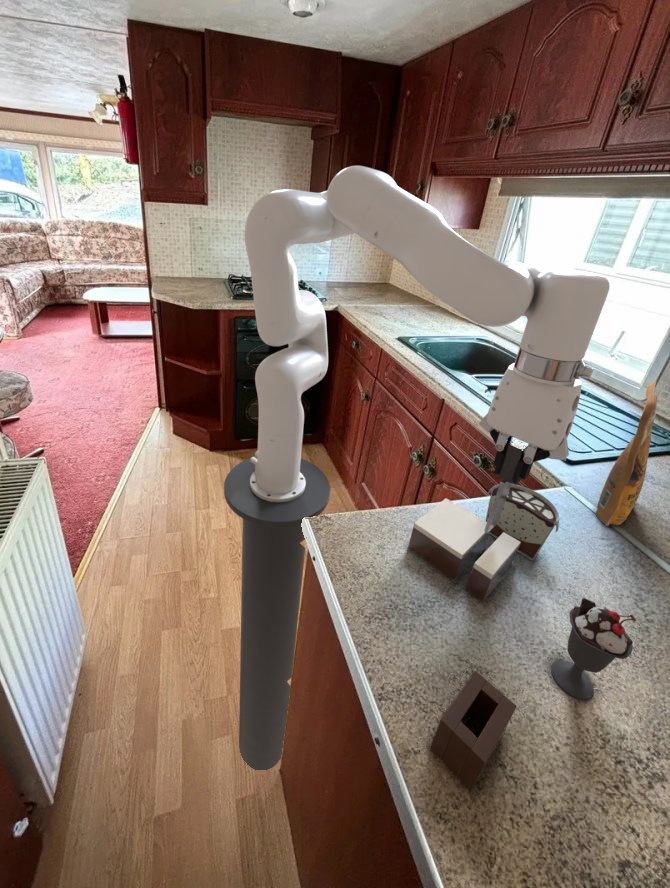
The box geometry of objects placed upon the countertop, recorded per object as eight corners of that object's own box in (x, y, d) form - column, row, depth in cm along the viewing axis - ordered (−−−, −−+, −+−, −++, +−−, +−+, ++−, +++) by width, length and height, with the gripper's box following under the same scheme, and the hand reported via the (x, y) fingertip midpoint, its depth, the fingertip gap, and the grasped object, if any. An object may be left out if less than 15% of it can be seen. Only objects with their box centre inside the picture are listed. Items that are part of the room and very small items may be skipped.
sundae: (605, 718, 51) (657, 640, 44) (544, 688, 53) (585, 611, 47) (598, 671, 56) (644, 596, 50) (543, 645, 59) (580, 571, 53)
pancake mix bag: (579, 517, 85) (634, 398, 74) (603, 483, 97) (653, 376, 86) (618, 536, 81) (682, 412, 69) (637, 497, 93) (695, 387, 81)
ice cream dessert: (554, 550, 76) (573, 508, 72) (541, 566, 72) (560, 523, 68) (491, 513, 84) (504, 474, 80) (476, 525, 81) (490, 485, 77)
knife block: (429, 748, 47) (440, 718, 44) (463, 699, 52) (474, 670, 49) (470, 792, 43) (485, 763, 41) (502, 735, 48) (517, 705, 46)
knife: (479, 529, 66) (506, 446, 60) (490, 518, 69) (517, 437, 62) (491, 536, 65) (520, 452, 58) (502, 525, 67) (531, 443, 61)
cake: (408, 547, 74) (414, 522, 72) (439, 521, 81) (445, 498, 79) (454, 581, 68) (462, 555, 66) (483, 549, 75) (492, 525, 73)
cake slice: (465, 589, 67) (474, 562, 64) (494, 556, 74) (503, 531, 71) (482, 602, 65) (493, 575, 62) (511, 567, 72) (521, 541, 69)
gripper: (622, 378, 52) (573, 492, 60) (499, 344, 63) (471, 445, 70) (607, 392, 47) (556, 514, 55) (477, 353, 58) (449, 460, 66)
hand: (508, 474), depth 62 cm, fingers closed on knife, 2 cm apart
